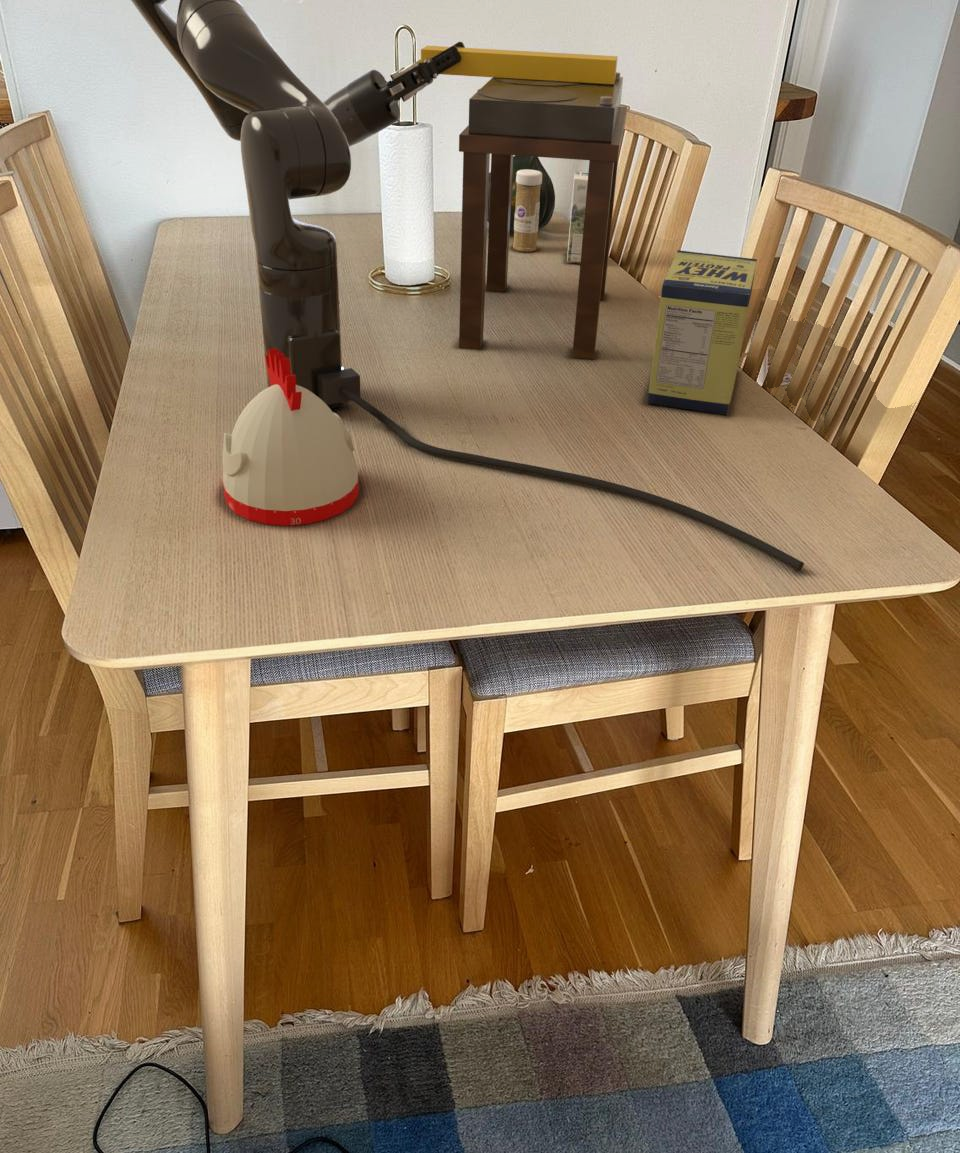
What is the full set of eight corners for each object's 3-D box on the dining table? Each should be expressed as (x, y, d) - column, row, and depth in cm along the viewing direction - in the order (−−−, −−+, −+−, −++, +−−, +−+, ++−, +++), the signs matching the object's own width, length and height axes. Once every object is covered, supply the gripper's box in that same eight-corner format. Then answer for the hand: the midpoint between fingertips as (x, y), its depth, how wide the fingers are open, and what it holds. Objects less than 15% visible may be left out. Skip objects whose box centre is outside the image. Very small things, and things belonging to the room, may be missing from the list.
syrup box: (599, 256, 182) (607, 171, 174) (599, 266, 177) (607, 179, 169) (567, 254, 182) (574, 169, 174) (566, 263, 178) (573, 177, 169)
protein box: (737, 371, 138) (758, 257, 130) (729, 416, 126) (751, 293, 117) (660, 361, 140) (676, 248, 132) (645, 405, 128) (661, 283, 119)
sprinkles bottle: (509, 250, 183) (513, 172, 176) (517, 244, 187) (521, 167, 179) (533, 253, 182) (538, 175, 175) (540, 247, 186) (545, 170, 178)
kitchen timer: (330, 452, 114) (323, 323, 106) (379, 507, 104) (376, 369, 96) (208, 476, 108) (191, 342, 100) (248, 537, 98) (232, 393, 90)
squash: (454, 203, 189) (508, 143, 180) (480, 189, 201) (532, 133, 193) (505, 261, 191) (561, 205, 183) (527, 244, 203) (581, 191, 195)
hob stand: (454, 348, 142) (459, 92, 124) (486, 283, 167) (494, 62, 148) (597, 361, 140) (623, 102, 122) (607, 293, 164) (630, 70, 146)
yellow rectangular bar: (420, 73, 141) (420, 49, 140) (427, 69, 145) (427, 45, 143) (613, 84, 138) (616, 60, 137) (615, 80, 142) (617, 56, 140)
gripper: (333, 91, 140) (439, 27, 134) (359, 78, 152) (458, 18, 145) (361, 143, 143) (466, 83, 137) (384, 126, 155) (482, 70, 148)
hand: (461, 50), depth 141 cm, fingers closed on yellow rectangular bar, 4 cm apart
